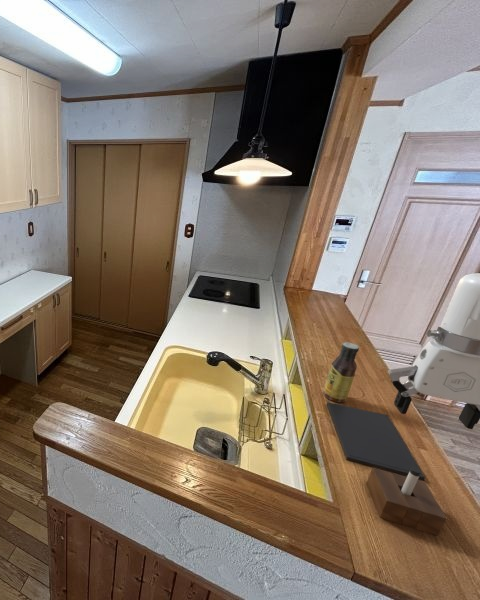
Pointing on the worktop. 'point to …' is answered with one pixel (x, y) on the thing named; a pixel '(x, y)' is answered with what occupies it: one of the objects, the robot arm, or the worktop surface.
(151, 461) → the worktop surface
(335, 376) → the sauce bottle
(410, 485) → the white thin cylinder
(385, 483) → the pen stand
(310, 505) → the worktop surface
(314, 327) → the worktop surface
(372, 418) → the plate
